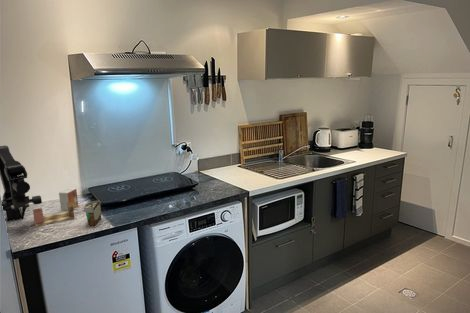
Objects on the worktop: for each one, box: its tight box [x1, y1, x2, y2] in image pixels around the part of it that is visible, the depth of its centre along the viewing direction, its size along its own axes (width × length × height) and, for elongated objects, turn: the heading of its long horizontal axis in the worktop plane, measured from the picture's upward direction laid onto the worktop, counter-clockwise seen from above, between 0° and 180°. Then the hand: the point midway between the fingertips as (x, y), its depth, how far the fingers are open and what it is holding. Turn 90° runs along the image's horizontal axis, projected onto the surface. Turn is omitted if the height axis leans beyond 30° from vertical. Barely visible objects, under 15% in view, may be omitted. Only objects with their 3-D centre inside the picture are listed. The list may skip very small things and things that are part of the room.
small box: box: [58, 188, 79, 211], centre depth 195 cm, size 8×6×10 cm
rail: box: [34, 202, 76, 228], centre depth 178 cm, size 18×8×7 cm, turn 122°
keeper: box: [32, 207, 44, 225], centre depth 174 cm, size 4×6×6 cm, turn 32°
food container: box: [83, 200, 102, 227], centre depth 173 cm, size 12×6×10 cm, turn 5°
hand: (22, 219), depth 171 cm, fingers closed
